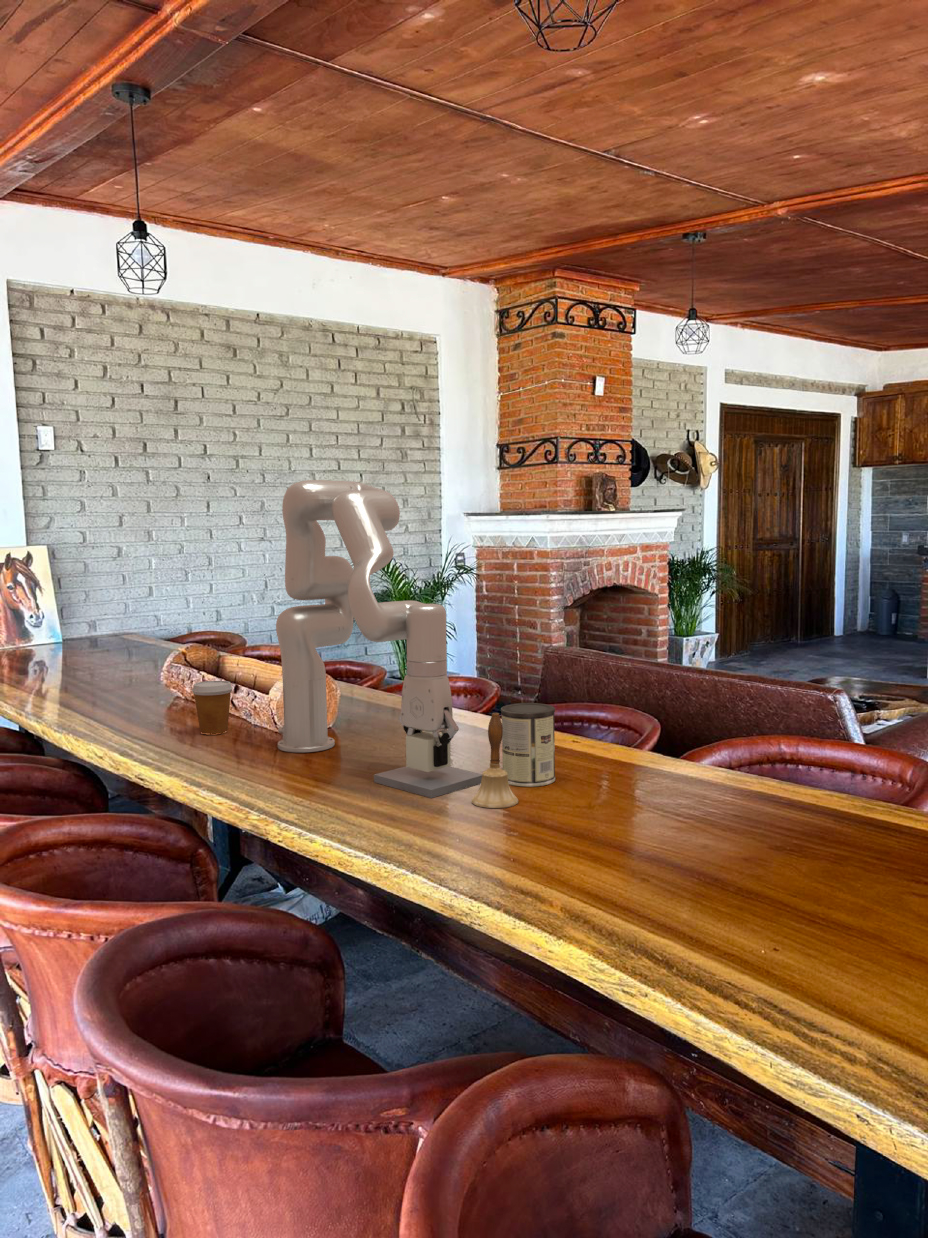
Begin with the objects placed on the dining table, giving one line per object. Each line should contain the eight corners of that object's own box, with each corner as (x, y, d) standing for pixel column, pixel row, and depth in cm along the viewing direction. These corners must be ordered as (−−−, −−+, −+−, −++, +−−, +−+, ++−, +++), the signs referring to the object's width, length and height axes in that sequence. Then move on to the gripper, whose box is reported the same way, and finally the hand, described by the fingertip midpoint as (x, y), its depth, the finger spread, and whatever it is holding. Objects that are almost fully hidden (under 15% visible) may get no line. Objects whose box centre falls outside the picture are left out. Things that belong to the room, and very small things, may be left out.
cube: (406, 766, 180) (405, 735, 179) (429, 760, 184) (428, 730, 184) (427, 772, 176) (427, 740, 175) (450, 766, 180) (450, 735, 179)
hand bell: (494, 792, 173) (493, 707, 171) (528, 801, 167) (527, 713, 165) (461, 802, 167) (460, 713, 166) (495, 812, 161) (494, 720, 160)
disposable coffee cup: (242, 731, 228) (240, 682, 227) (212, 738, 220) (210, 688, 219) (215, 727, 233) (213, 679, 232) (184, 734, 225) (182, 684, 224)
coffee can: (513, 770, 188) (512, 701, 187) (562, 776, 184) (562, 704, 182) (493, 783, 179) (492, 710, 177) (544, 789, 174) (544, 714, 173)
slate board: (374, 782, 181) (373, 774, 181) (427, 768, 191) (426, 761, 191) (431, 798, 170) (431, 790, 170) (484, 782, 180) (484, 774, 180)
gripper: (382, 667, 181) (384, 759, 183) (444, 676, 169) (446, 774, 171) (410, 662, 187) (412, 752, 189) (473, 671, 175) (474, 766, 177)
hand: (428, 761), depth 180 cm, fingers closed on cube, 6 cm apart
